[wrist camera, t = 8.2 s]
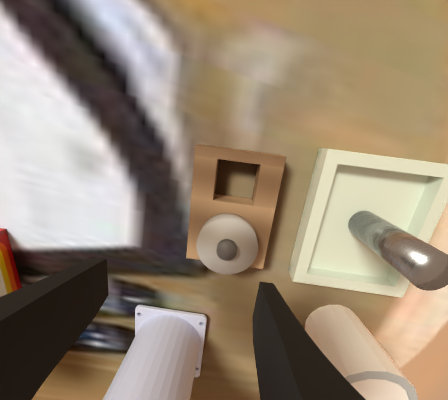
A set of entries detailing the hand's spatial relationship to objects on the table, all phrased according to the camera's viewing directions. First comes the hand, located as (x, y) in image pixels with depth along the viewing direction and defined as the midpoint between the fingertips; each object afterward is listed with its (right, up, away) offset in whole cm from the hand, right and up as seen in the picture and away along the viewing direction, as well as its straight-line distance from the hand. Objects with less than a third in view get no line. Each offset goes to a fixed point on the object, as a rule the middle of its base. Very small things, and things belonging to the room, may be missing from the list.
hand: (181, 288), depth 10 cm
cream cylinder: (+14, -9, +13) cm, 21 cm away
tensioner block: (+3, +4, +10) cm, 11 cm away
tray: (+14, +2, +9) cm, 17 cm away
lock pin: (+14, +2, +9) cm, 17 cm away
